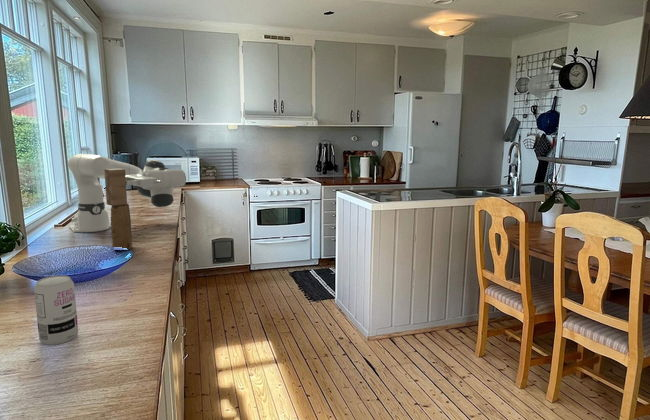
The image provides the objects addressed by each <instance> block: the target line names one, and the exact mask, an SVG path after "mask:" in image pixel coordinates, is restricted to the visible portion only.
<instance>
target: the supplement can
mask: <svg viewBox="0 0 650 420" xmlns="http://www.w3.org/2000/svg"><path fill="white" fill-rule="evenodd" d="M33 291H34V300H35V301H34V304H35V311H36V321H37V329H38V330H37V331H38V339H39V340H38V341H39V342H41V343H42V344H44V345H45V346H46V345H47V346H55V345H61V344H64V343H68V342H70V341H72V340H73V339H75V337H76V336H78V334H79V326H78V325H79V324H78V313H77V303H76V302H77V301H76V289H75V283H74V281H73V279H71V276H68V275H52V276H51V275H50V276H47V277H43V278H41V279H38V280H37V281H36V284H35V286H34V288H33Z"/></svg>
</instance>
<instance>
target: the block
mask: <svg viewBox="0 0 650 420" xmlns="http://www.w3.org/2000/svg"><path fill="white" fill-rule="evenodd" d="M131 219H132V218H131V212H130V205H129V203H128V202H127V205H118V206H111V208H110V224H111V227H110V232H111V245H112V248H113V247H122V248H127V249H130V250H132V248H133V237H132V234H133V233H132V220H131Z"/></svg>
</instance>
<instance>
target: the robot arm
mask: <svg viewBox="0 0 650 420" xmlns="http://www.w3.org/2000/svg"><path fill="white" fill-rule="evenodd" d="M67 167H68V168H69V170H70V172H71V173H72V176H73V179H74V181H75V183H76V186H77V192H78V196H77V197H78V204H77V210H78V211H77V212H76V213H75V214H74V216H73V217H72V218H71V222H72V223H74V224H70V225H69V228H70V229H71V231H72V232H73V233H93V232H103V231H106V230H108V229H111V223H110V219H109V218H110V217H109V213H108V211H107V210H106V203H105V201H104V190H103V186H102V185H101V183H100V182H99V180H98V178H99V179H103V180H105V173H104V169H125V176H126V186H134V187H135V189H137V192H138V193H139V194H140V196H142V197H143V198H146V199H151V200H150V201H151V204H152V205H153V206H154V207H155V208H166V207H169V206H171V205H172V204H173V203H174V196H173V193H174V189H175V188H180V187H183V186H185V185H186V183H187V178H186V173H185V171H184V170H183V169H176V168H175V169H173V168H169V167H166V166H165V164H164V163H163V162H162V161H160V160H158V159H154V158H153V159H148V160H146V161H145V163H144V167H143V170H142V169H141V168H140V167H138V166H136V165H133V164H130V163H127V162H124V161H123V162H122V161H120V160H119V161H118V160H115V159H111V158H109V157H106V156H102V155H99V154H91V153H90V154H88V153H78V154H73V155H72V156H71V157H69V159H68V160H67Z"/></svg>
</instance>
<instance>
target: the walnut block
mask: <svg viewBox="0 0 650 420" xmlns="http://www.w3.org/2000/svg"><path fill="white" fill-rule="evenodd" d="M104 173H105V179H104V184H105V197H106V198H105V199H106V205H107V206H111V207H112V206H118V205H127V203H128V196H127V185H126V176H125V169H104Z"/></svg>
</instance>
